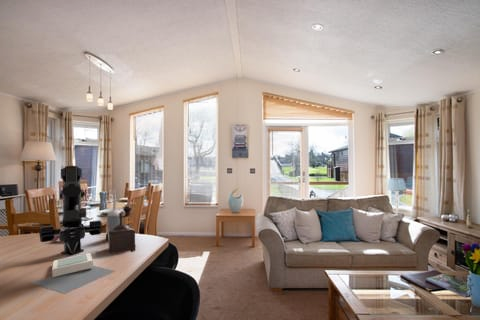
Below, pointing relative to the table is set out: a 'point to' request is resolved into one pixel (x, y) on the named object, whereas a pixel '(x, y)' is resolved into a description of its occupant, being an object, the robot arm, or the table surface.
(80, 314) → the table surface
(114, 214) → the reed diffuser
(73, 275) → the mat
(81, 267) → the picture frame
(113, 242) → the coffee grinder
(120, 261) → the table surface
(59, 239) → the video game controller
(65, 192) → the robot arm
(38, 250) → the table surface
